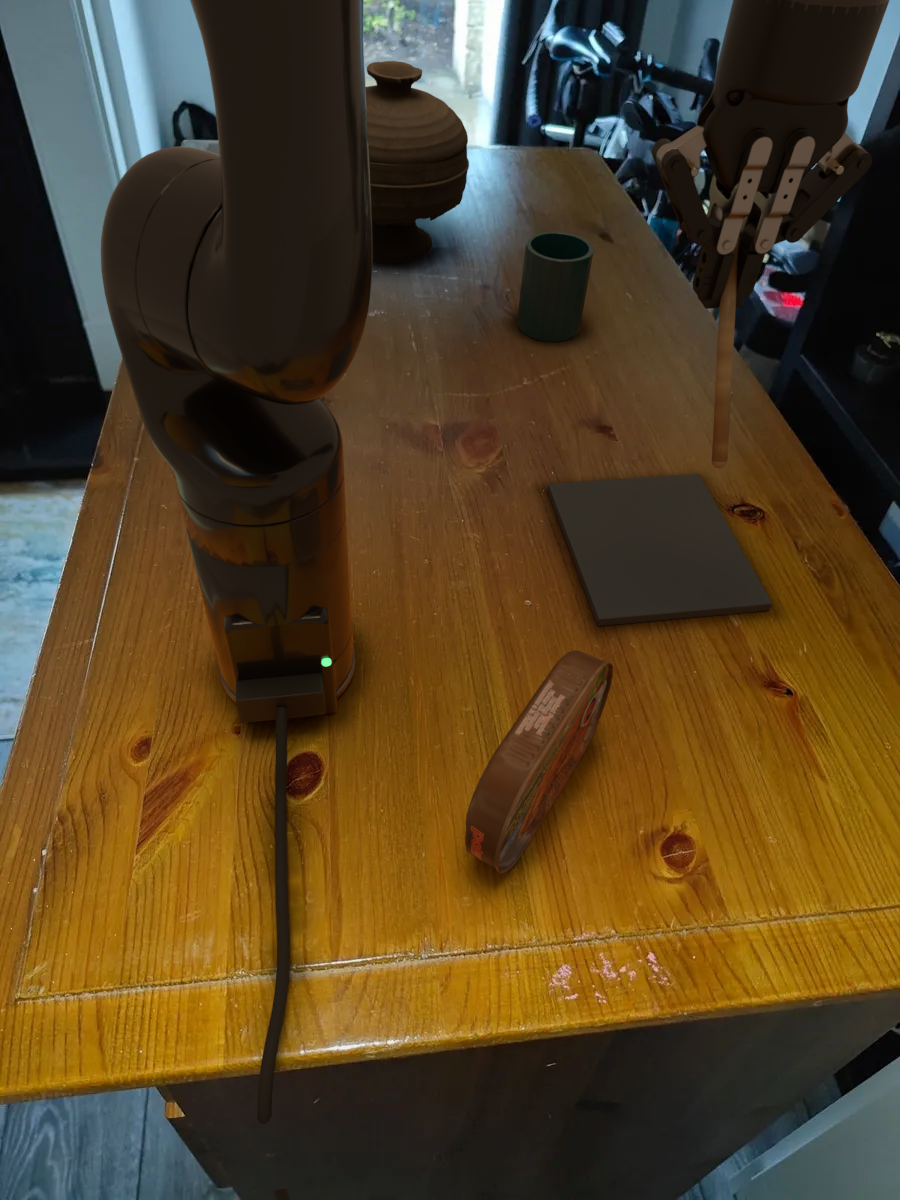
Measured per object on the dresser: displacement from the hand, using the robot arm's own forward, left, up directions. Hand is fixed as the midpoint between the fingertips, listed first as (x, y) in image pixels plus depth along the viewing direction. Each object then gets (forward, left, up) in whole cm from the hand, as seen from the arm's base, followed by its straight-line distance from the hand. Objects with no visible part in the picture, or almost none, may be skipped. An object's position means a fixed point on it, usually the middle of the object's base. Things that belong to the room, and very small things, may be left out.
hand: (718, 301), depth 55 cm
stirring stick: (-3, 0, -2) cm, 4 cm away
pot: (+56, +15, -21) cm, 62 cm away
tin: (-22, +15, -21) cm, 34 cm away
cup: (+35, 0, -21) cm, 41 cm away
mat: (-1, 0, -21) cm, 21 cm away
